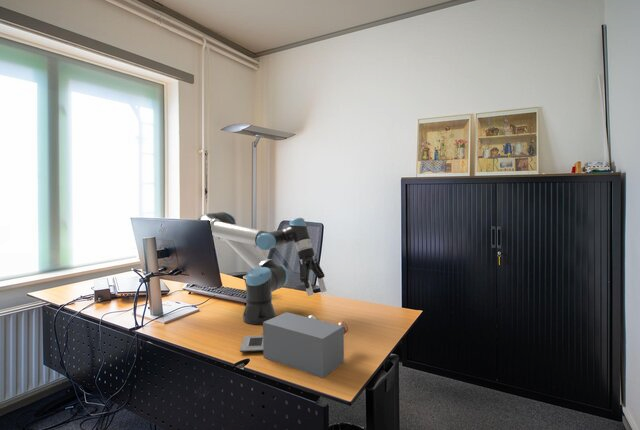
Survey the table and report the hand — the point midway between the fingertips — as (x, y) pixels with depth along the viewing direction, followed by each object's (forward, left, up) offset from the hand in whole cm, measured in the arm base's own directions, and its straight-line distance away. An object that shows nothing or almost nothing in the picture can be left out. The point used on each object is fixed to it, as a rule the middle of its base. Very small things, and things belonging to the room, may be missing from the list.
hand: (317, 293), depth 166 cm
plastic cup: (-51, +21, -13) cm, 57 cm away
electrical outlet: (-10, -35, -13) cm, 39 cm away
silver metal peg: (+7, -26, -7) cm, 28 cm away
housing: (+12, -38, -13) cm, 41 cm away
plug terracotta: (+21, -29, -7) cm, 36 cm away
